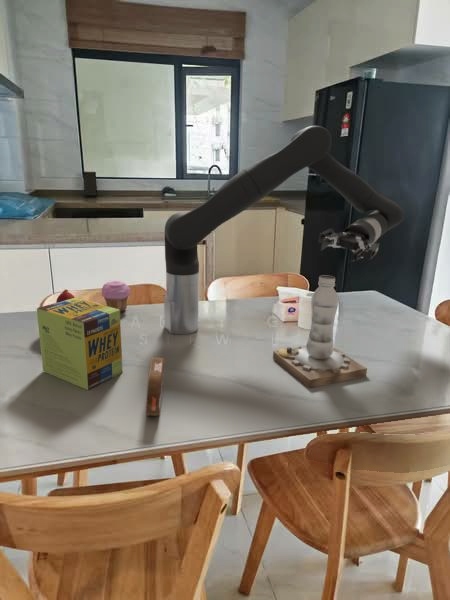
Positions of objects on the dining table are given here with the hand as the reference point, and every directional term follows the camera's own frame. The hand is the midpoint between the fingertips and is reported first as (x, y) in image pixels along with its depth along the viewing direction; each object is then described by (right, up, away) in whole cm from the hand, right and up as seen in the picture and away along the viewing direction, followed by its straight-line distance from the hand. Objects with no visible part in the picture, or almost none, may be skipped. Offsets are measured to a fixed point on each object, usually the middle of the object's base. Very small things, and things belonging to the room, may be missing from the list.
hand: (336, 252), depth 105 cm
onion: (-77, -16, +31) cm, 84 cm away
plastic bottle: (-4, -26, 0) cm, 26 cm away
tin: (-41, -33, -17) cm, 55 cm away
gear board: (-4, -28, +1) cm, 28 cm away
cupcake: (-62, -15, +35) cm, 73 cm away
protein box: (-60, -28, -5) cm, 66 cm away
